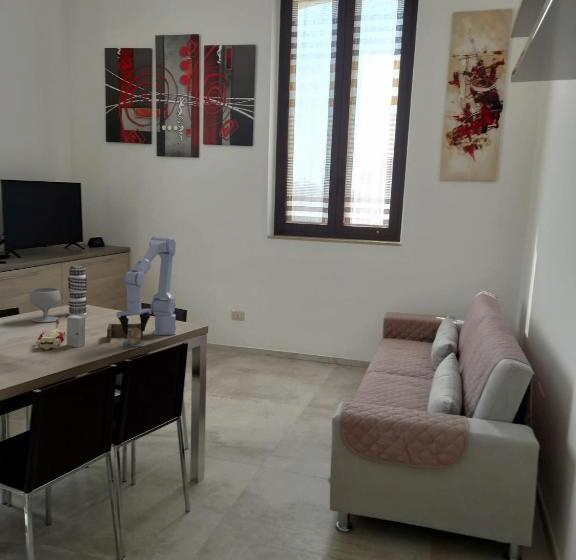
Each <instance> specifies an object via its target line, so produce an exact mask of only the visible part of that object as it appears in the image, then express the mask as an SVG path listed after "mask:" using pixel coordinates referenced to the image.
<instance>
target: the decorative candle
mask: <svg viewBox="0 0 576 560" xmlns="http://www.w3.org/2000/svg"><path fill="white" fill-rule="evenodd" d="M86 270H87V269H86V268H85V267H84V266H83V265H82V264H81V265H80V264H73V265H71V266H70V267H69V268H68V271H69V273H68V276H67V281H68V283H67V284H68V286H67V288H68V293H69V298H68V299H69V300H68V303H69V304H68V306H69V307H68V313H69V316H72V315H76V316H83V317H84V316H86V315H88V314H87V311H88V310H87V308H88V307H87V305H88V304H87V297H86V293H87V284H88V283H87V280H88V278H87V279H86Z"/></svg>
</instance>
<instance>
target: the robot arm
mask: <svg viewBox="0 0 576 560" xmlns="http://www.w3.org/2000/svg"><path fill="white" fill-rule="evenodd" d="M176 245H177V242H176V241H175V239H174V237H170V236H169V237H167V236H166V237H165V236H155V235H154V236H152V237H151V239H150V240H149V245H148V246H149V247H148V249H147V251H146V253H145V254H144V256H143V258H139V259H138V260H137V262H136V263H135V264H134V266H133V267H132V269H131V270H130V271H127V272H125V275H124V276H123V283H124V285H125V289H126V310H122V311H117V312H116V317H117V318H118V320H119V322H120V324H121V325H122V327H123V331H124V333H125V334H127V333H128V324H129V318H128V317H130V316H131V317H132V316H138V315H139V319H140V323H141V331H143V332H145V330H146V327H147V323H148V322H149V319H150V317H151V314H152V312H153V314H154V329H153V335H154V336H158V335H159V336H160V335H161V336H163V335H165V336H167V335H176V330H177V326H176V314H175V309H176V301H175V299H176V298H175V296H173V294H172V293H171V284H172V283H171V282H172V271H173V263H174V262H173V259H174V257H175V255H176V247H177V246H176ZM157 256H158V257H160V268H159V275H158V277H159V279H158V287H157V288H158V289H157V293H155V294H154V295H153V296H152V300H151V303H150V308H142V285H144V283H145V278H146V274H147V273H148V272H149V270H150V269H151V266H152V265H151V263H152V261H153V260H154V259H155V258H156V257H157Z"/></svg>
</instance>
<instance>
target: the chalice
mask: <svg viewBox="0 0 576 560" xmlns="http://www.w3.org/2000/svg"><path fill="white" fill-rule="evenodd" d="M61 298H62V297H61V293H60V290H59V289H58V288H56V287H37V288H33V289H31V291H30V293H29V297H28V300H29V301H28V302H29V303H30V304H31V305H32V306H34V307H36V308H38V309H40V310H41V311H42V312H43V315H42V316H38V317H33V318H32V319H31V321H32V322H33V323H52V322H56V319H59V320H60V318H59V316H58V317H57V316H51V315H49V314H48V313H49V310H51V309H52V308H54V307H55V306H57V305H59V304H60V302H61V301H62V299H61Z"/></svg>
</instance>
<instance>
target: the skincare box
mask: <svg viewBox="0 0 576 560" xmlns="http://www.w3.org/2000/svg"><path fill="white" fill-rule="evenodd" d="M85 339H86V316H84V315H83V316H76V315H72V316H71V315H69V316H67V317H66V346H67V347H75V348H81V347H83V346H85V343H86V340H85ZM80 346H81V347H80Z"/></svg>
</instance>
